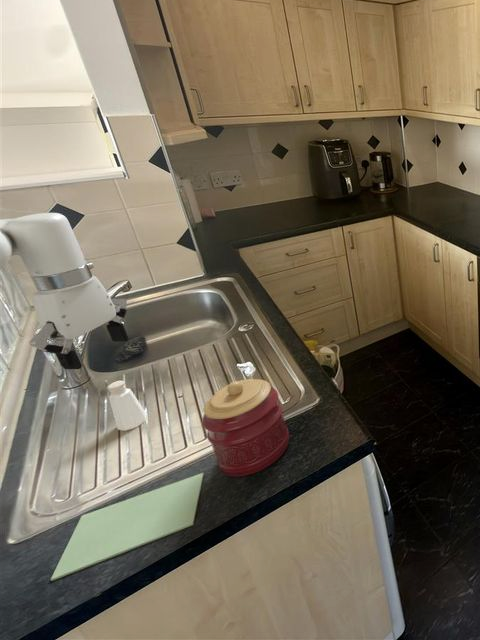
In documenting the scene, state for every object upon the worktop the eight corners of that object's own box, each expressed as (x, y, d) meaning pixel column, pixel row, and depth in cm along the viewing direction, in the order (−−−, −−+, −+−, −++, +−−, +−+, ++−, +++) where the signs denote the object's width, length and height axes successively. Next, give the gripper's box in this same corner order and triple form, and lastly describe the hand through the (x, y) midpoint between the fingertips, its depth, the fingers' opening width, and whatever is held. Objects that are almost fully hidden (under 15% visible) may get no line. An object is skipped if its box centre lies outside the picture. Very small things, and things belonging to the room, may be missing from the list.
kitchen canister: (283, 420, 94) (264, 355, 87) (297, 453, 84) (277, 384, 78) (215, 450, 86) (189, 381, 80) (224, 491, 77) (195, 417, 70)
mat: (51, 581, 63) (50, 579, 62) (82, 517, 73) (81, 515, 72) (193, 525, 70) (192, 523, 70) (204, 473, 80) (203, 472, 80)
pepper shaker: (143, 411, 98) (126, 373, 94) (152, 419, 95) (135, 381, 91) (114, 425, 94) (95, 386, 90) (122, 434, 91) (103, 395, 87)
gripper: (91, 261, 86) (121, 331, 92) (-12, 298, 70) (33, 380, 76) (124, 261, 85) (152, 331, 91) (28, 298, 69) (70, 381, 75)
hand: (98, 353), depth 83 cm, fingers open, 9 cm apart
